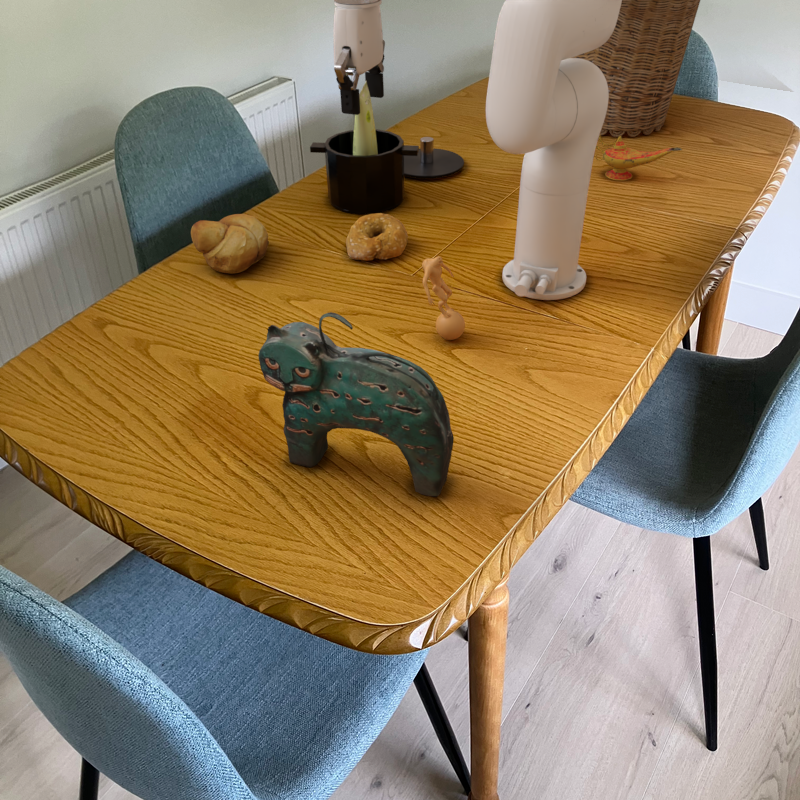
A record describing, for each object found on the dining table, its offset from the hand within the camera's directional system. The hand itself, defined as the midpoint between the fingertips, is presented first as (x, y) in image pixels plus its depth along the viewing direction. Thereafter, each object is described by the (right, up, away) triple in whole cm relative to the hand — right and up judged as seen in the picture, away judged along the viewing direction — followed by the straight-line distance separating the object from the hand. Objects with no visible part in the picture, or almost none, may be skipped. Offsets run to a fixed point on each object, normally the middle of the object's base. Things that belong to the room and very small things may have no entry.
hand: (363, 105), depth 131 cm
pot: (0, -13, +11) cm, 17 cm away
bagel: (+2, -26, -5) cm, 27 cm away
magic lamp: (+50, -8, +17) cm, 53 cm away
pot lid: (+12, -3, +22) cm, 25 cm away
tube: (0, -13, +10) cm, 17 cm away
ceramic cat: (+2, -58, -46) cm, 74 cm away
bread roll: (-19, -28, -7) cm, 35 cm away
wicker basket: (+55, +12, +42) cm, 70 cm away
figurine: (+12, -42, -26) cm, 51 cm away
